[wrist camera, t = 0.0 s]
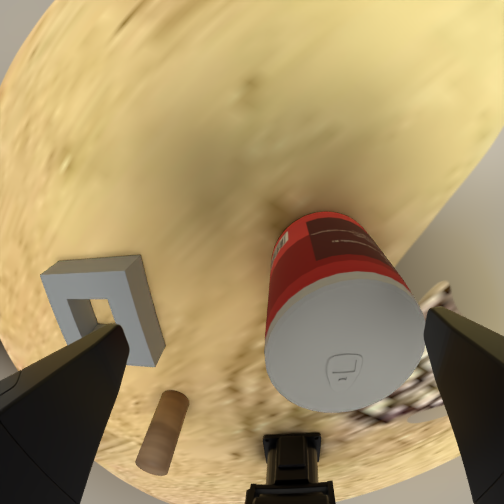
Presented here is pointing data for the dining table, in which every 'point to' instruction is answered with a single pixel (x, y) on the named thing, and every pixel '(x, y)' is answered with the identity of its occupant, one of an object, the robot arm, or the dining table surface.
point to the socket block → (119, 297)
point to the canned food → (338, 317)
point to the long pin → (163, 434)
